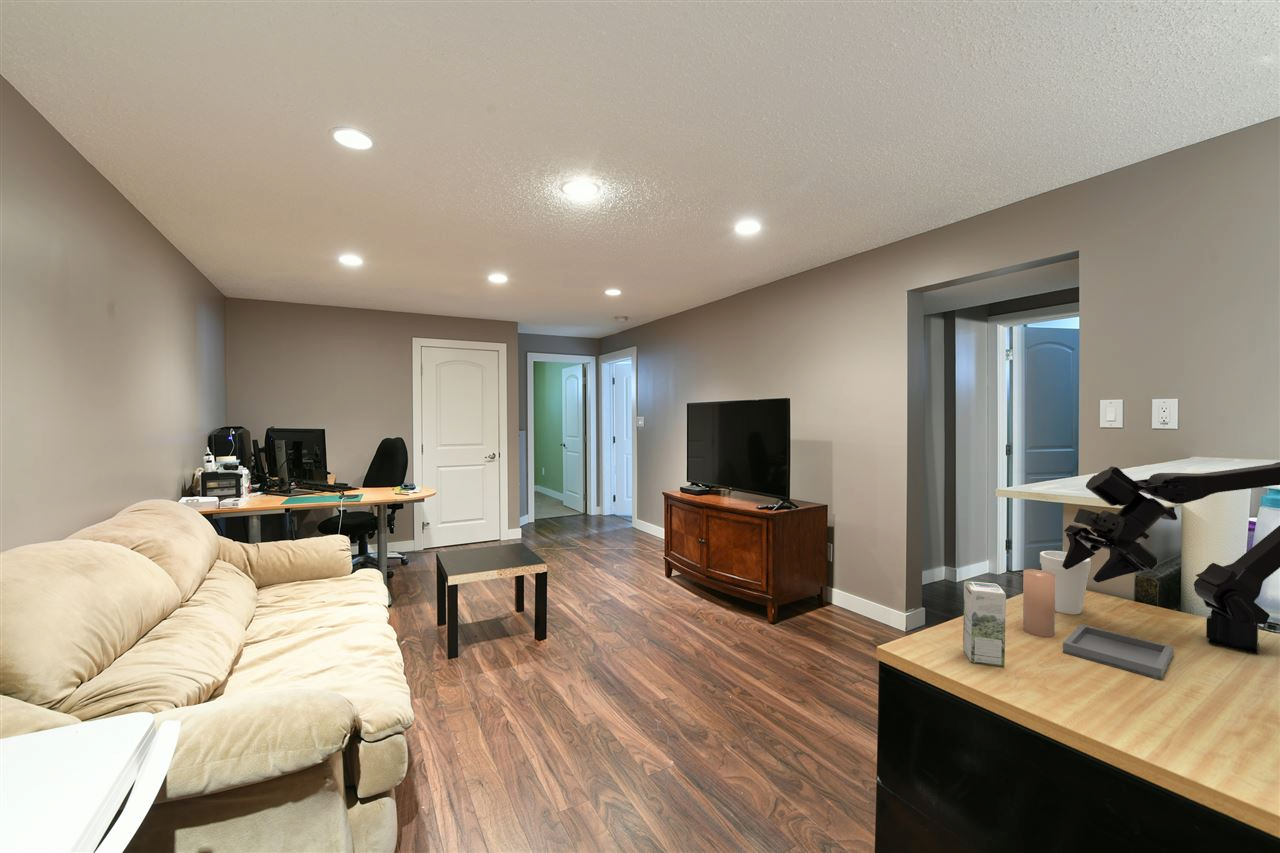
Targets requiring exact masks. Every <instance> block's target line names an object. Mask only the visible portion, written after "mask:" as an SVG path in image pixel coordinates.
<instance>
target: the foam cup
mask: <svg viewBox="0 0 1280 853" xmlns="http://www.w3.org/2000/svg"><path fill="white" fill-rule="evenodd" d="M1067 552H1068V551H1060V550H1045V551H1044V550H1043V551H1041V552H1039V563H1040V565H1041V570H1044V571H1048V572H1051V573H1053V574H1055V612H1057V613H1061V614H1066V615H1080V614H1081V613H1082V610H1083V608H1084V607H1083V605H1084V600H1085V596H1086V589H1087V585H1088V580H1089V579H1088V578H1089V574H1090V570H1091V567H1092V566H1091V564H1092V563H1091V562H1092V560H1091V558H1088V559H1086V560H1084V561H1083V562H1081V563H1079V564H1077V565H1075V566H1074V567H1072V568H1069V569H1067V570H1066V569H1065V568H1063V567H1062V565H1063V562H1064V560H1065V557H1066V555H1067Z"/></svg>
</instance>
